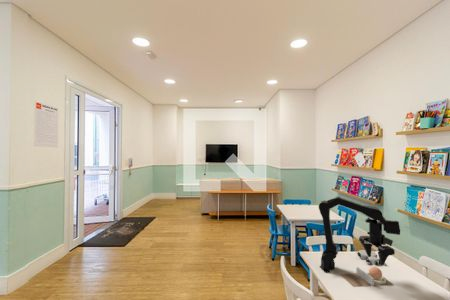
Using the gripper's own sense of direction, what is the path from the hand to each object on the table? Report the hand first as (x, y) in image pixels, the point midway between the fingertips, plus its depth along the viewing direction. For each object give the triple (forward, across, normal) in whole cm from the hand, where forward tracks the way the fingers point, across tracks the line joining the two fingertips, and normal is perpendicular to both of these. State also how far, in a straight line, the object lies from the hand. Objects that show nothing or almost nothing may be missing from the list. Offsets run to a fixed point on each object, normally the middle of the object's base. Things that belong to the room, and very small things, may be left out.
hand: (375, 260), depth 121 cm
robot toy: (+11, +21, -13) cm, 27 cm away
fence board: (+11, 0, +6) cm, 12 cm away
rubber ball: (+6, 0, 0) cm, 7 cm away
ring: (+10, 0, 0) cm, 10 cm away
